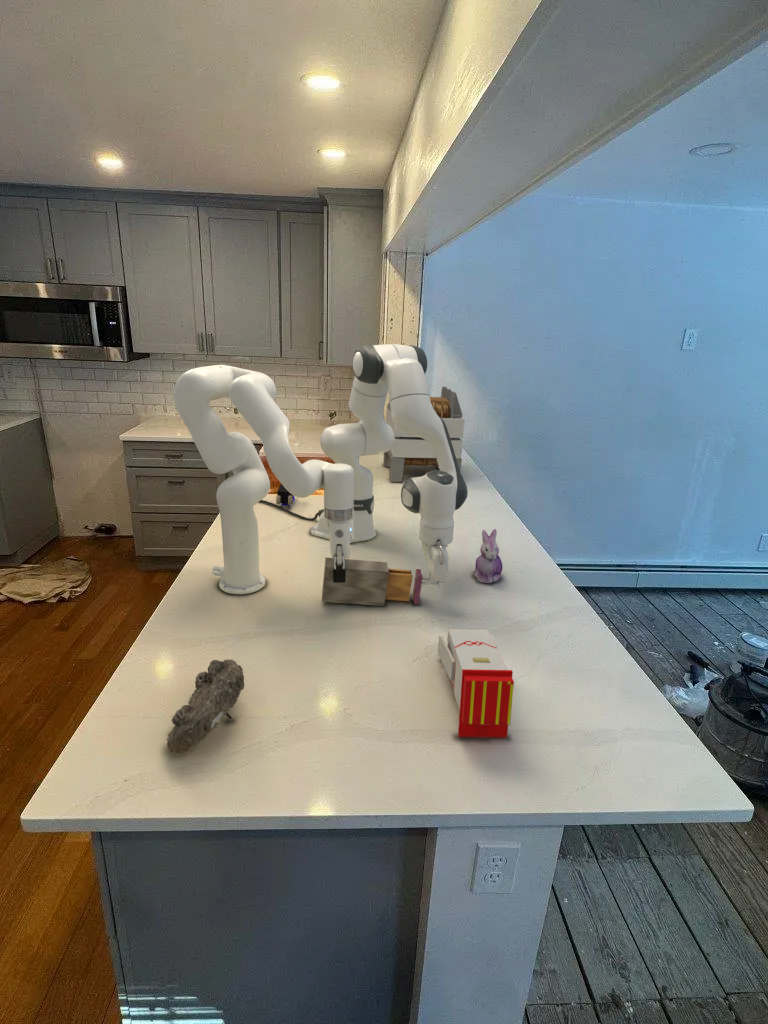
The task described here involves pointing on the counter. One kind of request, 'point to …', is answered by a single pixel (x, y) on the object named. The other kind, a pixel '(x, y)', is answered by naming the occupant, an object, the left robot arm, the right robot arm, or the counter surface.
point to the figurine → (488, 559)
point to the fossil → (206, 705)
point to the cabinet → (356, 583)
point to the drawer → (406, 585)
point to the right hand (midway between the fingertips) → (432, 581)
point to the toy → (478, 682)
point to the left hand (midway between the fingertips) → (339, 575)
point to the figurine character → (284, 497)
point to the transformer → (418, 449)
